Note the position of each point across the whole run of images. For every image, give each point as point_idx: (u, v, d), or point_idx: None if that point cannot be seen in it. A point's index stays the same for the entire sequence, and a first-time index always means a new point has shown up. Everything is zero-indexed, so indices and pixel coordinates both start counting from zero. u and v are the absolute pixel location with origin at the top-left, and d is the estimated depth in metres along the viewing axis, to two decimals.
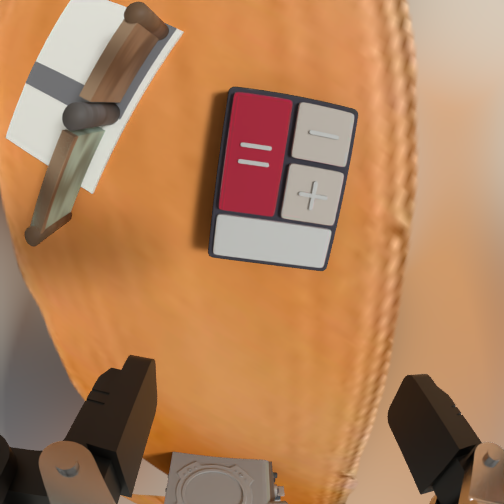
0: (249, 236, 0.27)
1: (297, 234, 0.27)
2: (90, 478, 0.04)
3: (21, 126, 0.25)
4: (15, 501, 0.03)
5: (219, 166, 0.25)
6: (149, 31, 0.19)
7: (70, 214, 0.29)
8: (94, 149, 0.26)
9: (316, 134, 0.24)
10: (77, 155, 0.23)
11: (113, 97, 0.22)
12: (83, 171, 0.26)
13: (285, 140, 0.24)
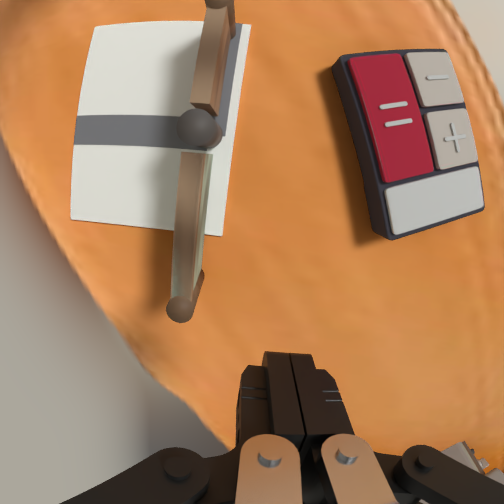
0: (420, 200, 0.22)
1: (456, 181, 0.22)
2: (289, 473, 0.05)
3: (89, 196, 0.24)
4: None
5: (367, 138, 0.21)
6: (229, 23, 0.18)
7: (202, 272, 0.26)
8: (209, 179, 0.23)
9: (433, 78, 0.19)
10: (203, 185, 0.20)
11: (216, 106, 0.20)
12: (205, 210, 0.24)
13: (413, 92, 0.20)
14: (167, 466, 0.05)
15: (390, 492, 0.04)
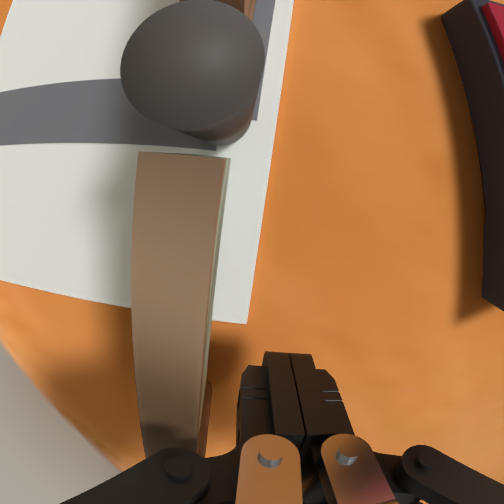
0: None
1: None
2: (289, 473, 0.05)
3: (4, 240, 0.11)
4: None
5: None
6: None
7: (209, 385, 0.13)
8: (222, 216, 0.11)
9: None
10: None
11: None
12: (214, 284, 0.11)
13: None
14: (167, 466, 0.05)
15: (390, 492, 0.04)
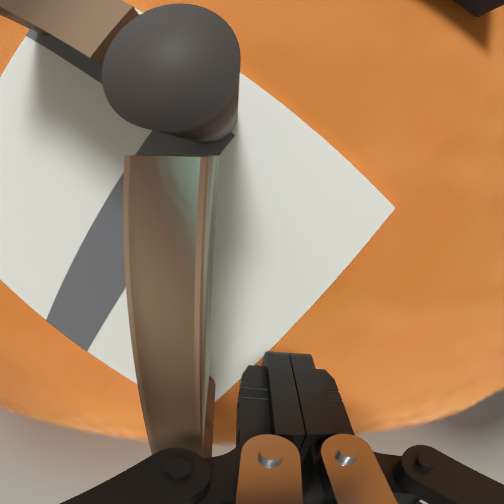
0: None
1: None
2: (289, 473, 0.05)
3: None
4: None
5: None
6: None
7: (212, 381, 0.13)
8: (214, 213, 0.11)
9: None
10: (205, 243, 0.08)
11: None
12: (210, 281, 0.11)
13: None
14: (168, 466, 0.05)
15: (390, 492, 0.04)
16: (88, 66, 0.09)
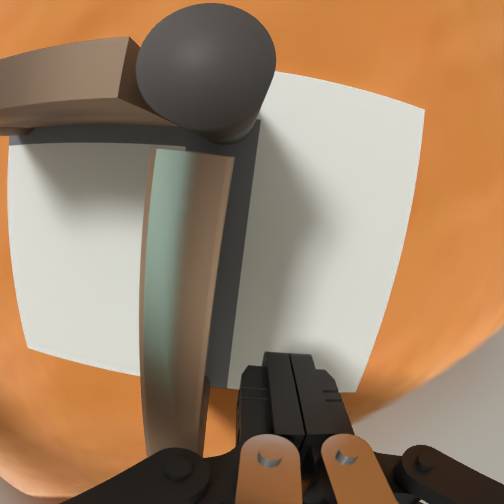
0: None
1: None
2: (289, 473, 0.05)
3: (326, 362, 0.14)
4: None
5: None
6: None
7: (207, 381, 0.13)
8: (225, 214, 0.11)
9: None
10: None
11: None
12: None
13: None
14: (167, 466, 0.05)
15: (390, 492, 0.04)
16: (89, 135, 0.11)
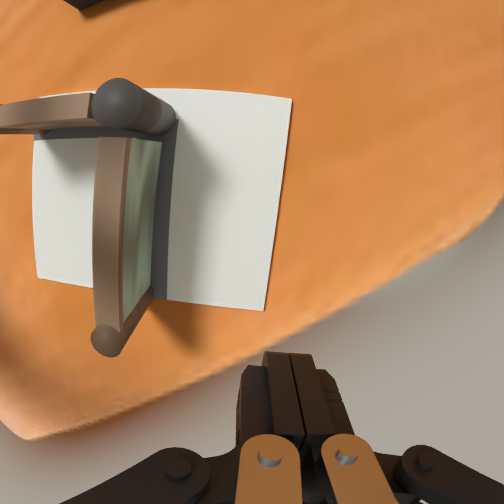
0: None
1: None
2: (289, 473, 0.05)
3: (234, 281, 0.21)
4: None
5: None
6: None
7: (151, 289, 0.20)
8: (155, 174, 0.18)
9: None
10: (136, 181, 0.15)
11: None
12: (150, 214, 0.18)
13: None
14: (167, 466, 0.05)
15: (390, 492, 0.04)
16: (83, 134, 0.18)
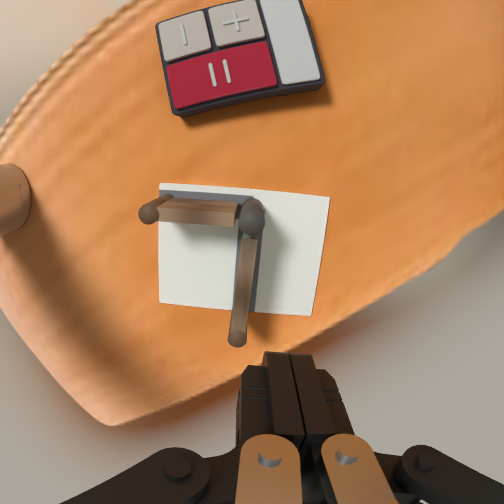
0: (292, 53, 0.25)
1: (274, 20, 0.24)
2: (289, 473, 0.05)
3: (295, 299, 0.36)
4: None
5: (241, 96, 0.27)
6: (165, 202, 0.29)
7: None
8: None
9: (185, 39, 0.24)
10: None
11: (232, 205, 0.30)
12: None
13: (199, 57, 0.25)
14: (167, 466, 0.05)
15: (390, 492, 0.04)
16: None
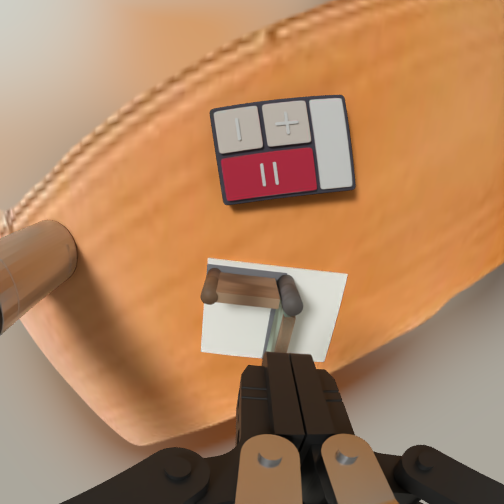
0: (332, 161, 0.33)
1: (320, 125, 0.31)
2: (289, 473, 0.05)
3: (312, 350, 0.43)
4: None
5: (285, 196, 0.34)
6: (218, 281, 0.36)
7: None
8: None
9: (239, 134, 0.32)
10: None
11: (272, 284, 0.37)
12: None
13: (252, 155, 0.32)
14: (167, 466, 0.05)
15: (390, 492, 0.04)
16: None
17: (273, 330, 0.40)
